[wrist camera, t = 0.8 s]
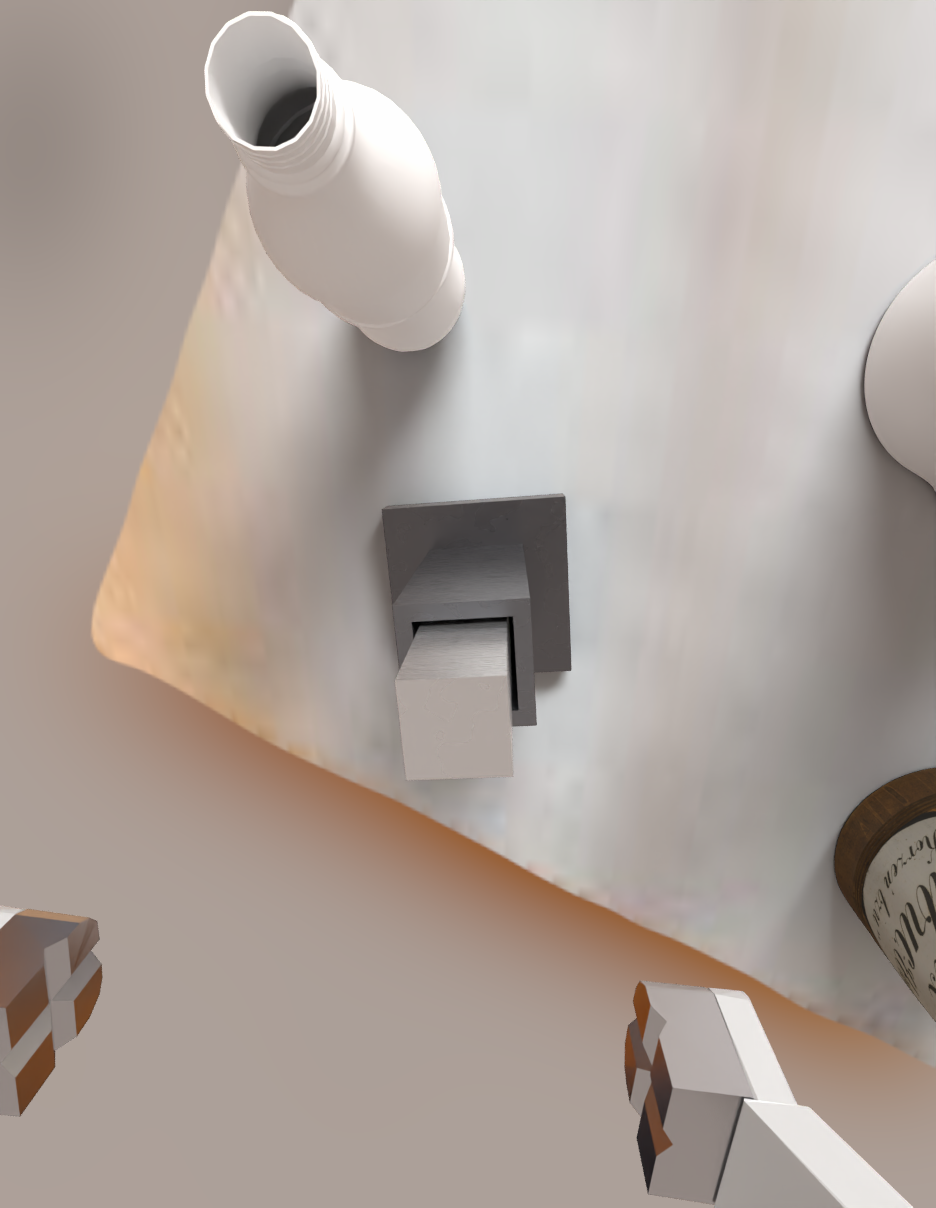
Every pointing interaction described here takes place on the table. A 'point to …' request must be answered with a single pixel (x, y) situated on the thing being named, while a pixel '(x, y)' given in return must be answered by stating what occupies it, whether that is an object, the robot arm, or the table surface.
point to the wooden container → (896, 876)
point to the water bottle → (337, 184)
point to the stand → (486, 577)
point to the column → (457, 700)
